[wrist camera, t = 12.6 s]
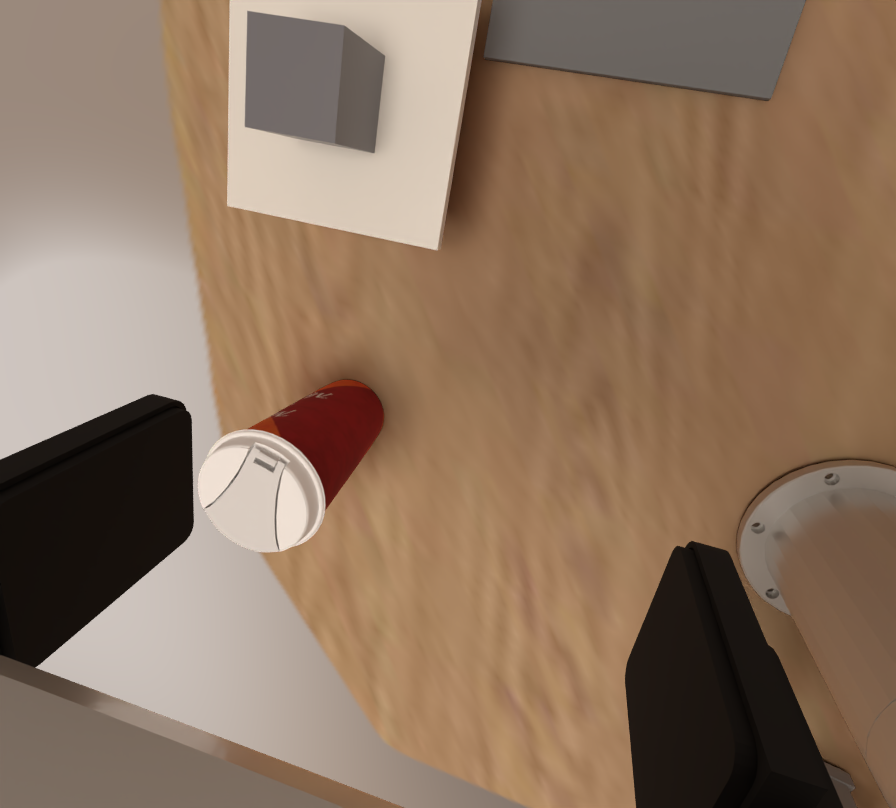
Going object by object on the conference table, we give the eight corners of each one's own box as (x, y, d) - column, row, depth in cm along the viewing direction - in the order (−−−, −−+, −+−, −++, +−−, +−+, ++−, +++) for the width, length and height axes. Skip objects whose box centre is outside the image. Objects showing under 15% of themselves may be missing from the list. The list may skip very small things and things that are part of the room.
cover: (486, -31, 25) (461, -94, 20) (440, 249, 30) (410, 258, 25) (240, -62, 27) (157, -127, 22) (235, 205, 32) (166, 205, 27)
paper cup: (324, 348, 41) (206, 414, 28) (412, 395, 40) (333, 483, 28) (294, 429, 44) (176, 521, 31) (375, 473, 44) (290, 584, 31)
